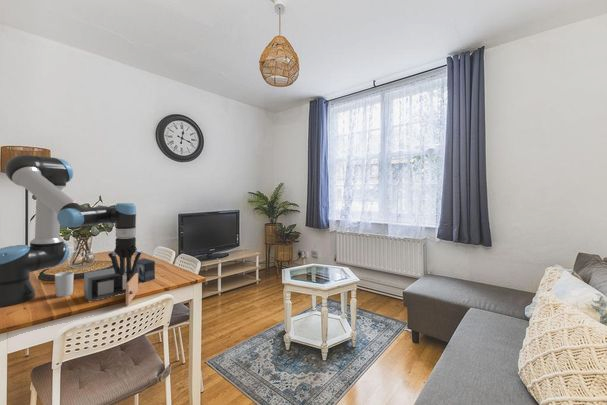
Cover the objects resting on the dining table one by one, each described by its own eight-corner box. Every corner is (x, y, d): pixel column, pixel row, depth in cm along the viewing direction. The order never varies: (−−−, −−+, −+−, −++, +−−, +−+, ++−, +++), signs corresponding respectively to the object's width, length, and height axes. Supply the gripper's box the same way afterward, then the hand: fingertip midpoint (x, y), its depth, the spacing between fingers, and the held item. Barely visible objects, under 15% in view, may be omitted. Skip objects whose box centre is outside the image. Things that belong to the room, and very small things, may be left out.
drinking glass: (74, 294, 121) (74, 274, 121) (54, 298, 117) (54, 276, 116) (73, 290, 126) (73, 270, 126) (54, 294, 122) (54, 273, 121)
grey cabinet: (88, 302, 114) (88, 278, 114) (84, 295, 121) (84, 272, 120) (135, 291, 128) (135, 269, 127) (129, 286, 134) (129, 265, 134)
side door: (131, 304, 113) (131, 284, 113) (125, 304, 112) (125, 284, 112) (140, 290, 128) (140, 272, 128) (135, 290, 127) (135, 273, 127)
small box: (132, 278, 145) (132, 260, 145) (144, 275, 151) (144, 257, 150) (143, 282, 140) (143, 263, 140) (155, 279, 146) (155, 260, 146)
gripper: (105, 239, 111) (105, 292, 112) (139, 238, 115) (139, 290, 116) (112, 235, 118) (112, 286, 119) (144, 235, 122) (143, 284, 123)
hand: (125, 288), depth 118 cm, fingers closed
